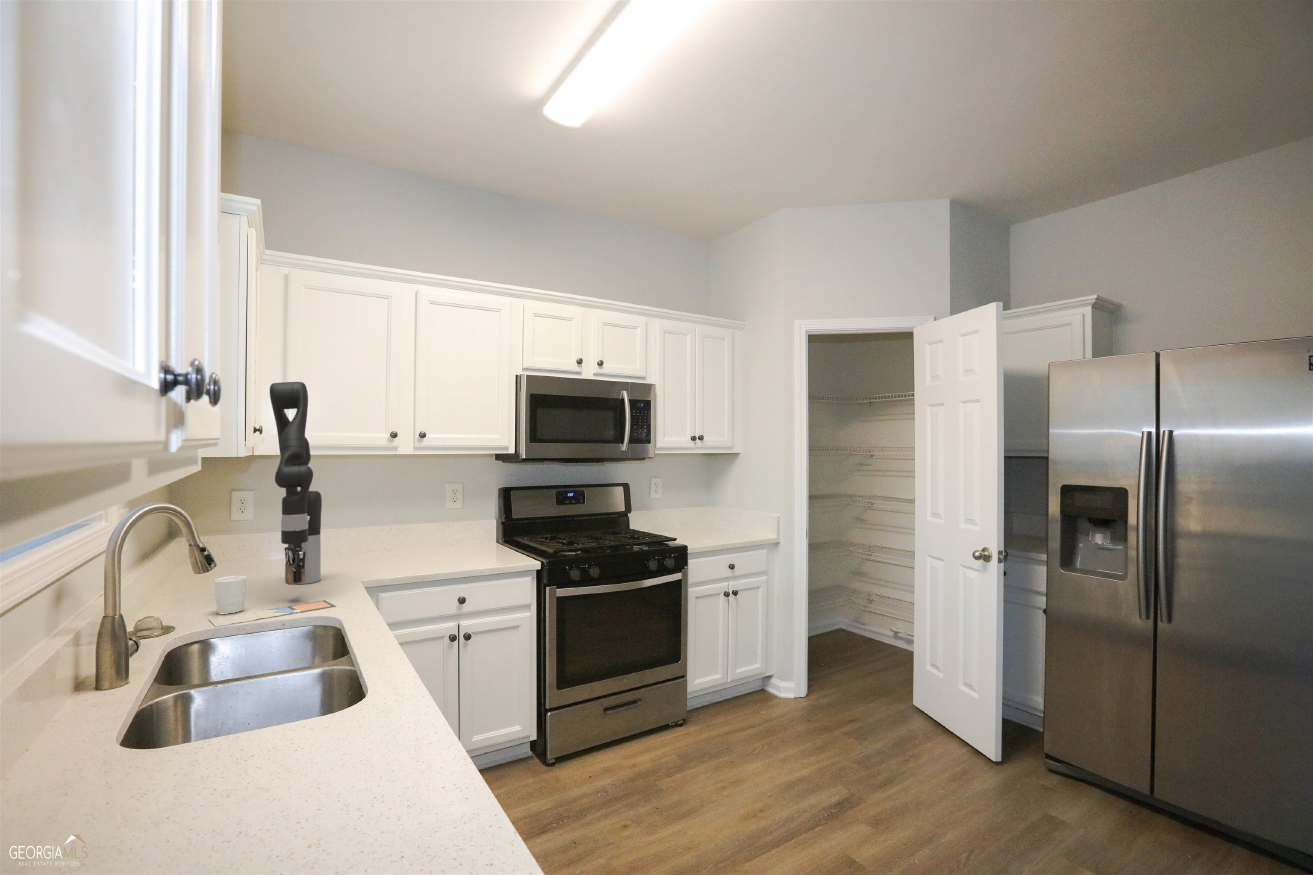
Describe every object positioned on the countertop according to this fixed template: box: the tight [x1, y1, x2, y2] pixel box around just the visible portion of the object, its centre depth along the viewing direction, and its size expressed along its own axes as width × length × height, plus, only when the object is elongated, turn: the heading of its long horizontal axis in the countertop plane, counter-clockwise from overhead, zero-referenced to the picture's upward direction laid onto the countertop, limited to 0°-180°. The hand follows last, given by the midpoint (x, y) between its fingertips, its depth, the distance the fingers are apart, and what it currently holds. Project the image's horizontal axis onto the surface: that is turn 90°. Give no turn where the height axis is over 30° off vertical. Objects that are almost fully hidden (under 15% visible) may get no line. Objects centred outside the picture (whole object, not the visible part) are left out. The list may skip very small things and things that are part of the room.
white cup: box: [214, 575, 247, 614], centre depth 190 cm, size 8×8×10 cm
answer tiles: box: [267, 599, 337, 614], centre depth 188 cm, size 11×31×1 cm, turn 134°
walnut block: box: [284, 563, 305, 586], centre depth 202 cm, size 4×4×6 cm
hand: (295, 580), depth 202 cm, fingers closed on walnut block, 4 cm apart
